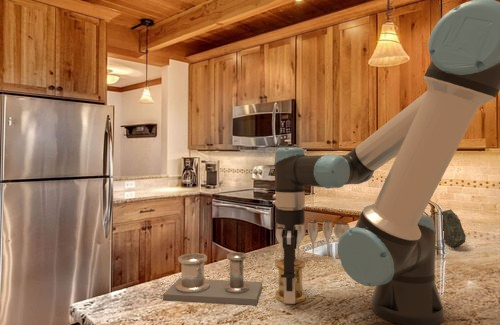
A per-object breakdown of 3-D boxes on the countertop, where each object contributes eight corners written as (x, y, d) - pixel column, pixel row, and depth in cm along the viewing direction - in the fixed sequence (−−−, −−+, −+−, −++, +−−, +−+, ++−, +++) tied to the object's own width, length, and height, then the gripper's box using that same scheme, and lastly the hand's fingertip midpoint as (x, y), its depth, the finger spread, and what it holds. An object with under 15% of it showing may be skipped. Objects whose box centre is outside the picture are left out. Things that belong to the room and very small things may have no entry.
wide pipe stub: (213, 281, 99) (213, 253, 98) (204, 294, 90) (204, 262, 90) (182, 280, 100) (182, 252, 100) (170, 292, 91) (170, 261, 91)
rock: (443, 249, 148) (433, 216, 152) (459, 247, 146) (448, 213, 151) (452, 247, 132) (441, 209, 136) (470, 244, 130) (458, 206, 135)
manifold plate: (262, 287, 98) (262, 282, 98) (256, 305, 86) (256, 299, 86) (179, 283, 102) (179, 278, 102) (163, 300, 90) (162, 294, 90)
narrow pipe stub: (250, 285, 96) (250, 252, 96) (246, 294, 89) (246, 258, 89) (227, 284, 97) (227, 251, 96) (222, 292, 90) (221, 257, 90)
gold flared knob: (305, 292, 94) (305, 258, 94) (305, 304, 87) (305, 267, 86) (276, 291, 95) (276, 257, 95) (274, 302, 88) (274, 266, 88)
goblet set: (279, 265, 118) (279, 226, 118) (273, 260, 123) (273, 223, 123) (353, 258, 125) (353, 221, 125) (344, 254, 131) (344, 218, 131)
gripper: (277, 202, 101) (278, 281, 102) (271, 214, 81) (272, 312, 81) (304, 202, 100) (304, 282, 100) (304, 214, 80) (305, 314, 80)
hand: (290, 296), depth 91 cm, fingers closed on gold flared knob, 8 cm apart
